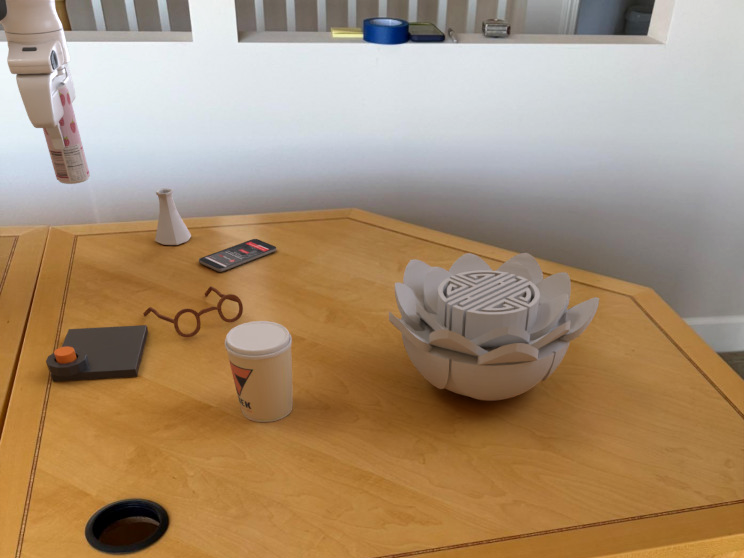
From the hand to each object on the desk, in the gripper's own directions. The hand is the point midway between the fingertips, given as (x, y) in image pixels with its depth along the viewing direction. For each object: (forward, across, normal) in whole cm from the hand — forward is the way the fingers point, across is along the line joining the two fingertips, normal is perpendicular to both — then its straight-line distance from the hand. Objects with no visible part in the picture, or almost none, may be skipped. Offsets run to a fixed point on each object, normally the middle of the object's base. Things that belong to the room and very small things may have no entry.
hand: (63, 142), depth 135 cm
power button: (+21, +38, +1) cm, 44 cm away
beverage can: (+6, 0, 0) cm, 6 cm away
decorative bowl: (+24, +47, +65) cm, 84 cm away
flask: (+24, -17, +13) cm, 32 cm away
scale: (+24, +32, +5) cm, 41 cm away
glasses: (+24, +20, +20) cm, 37 cm away
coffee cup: (+24, +52, +32) cm, 65 cm away
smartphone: (+24, -5, +27) cm, 36 cm away
